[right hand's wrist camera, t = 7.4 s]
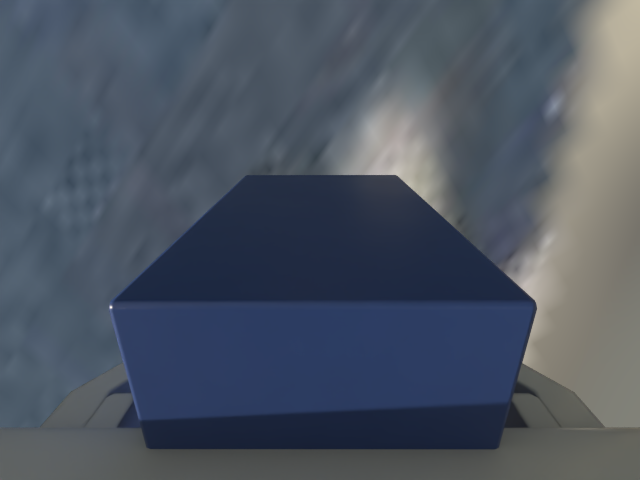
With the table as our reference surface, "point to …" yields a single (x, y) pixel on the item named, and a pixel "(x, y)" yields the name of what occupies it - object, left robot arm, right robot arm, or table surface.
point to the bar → (322, 324)
